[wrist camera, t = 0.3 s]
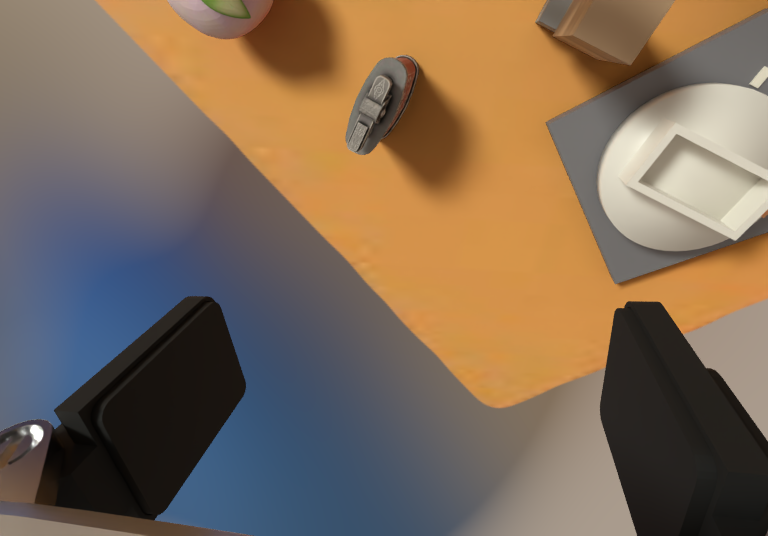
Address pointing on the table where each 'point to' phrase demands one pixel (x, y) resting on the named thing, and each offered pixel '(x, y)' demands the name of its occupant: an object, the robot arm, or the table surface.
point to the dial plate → (609, 109)
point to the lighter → (381, 102)
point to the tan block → (604, 25)
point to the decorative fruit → (222, 15)
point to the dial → (688, 167)
